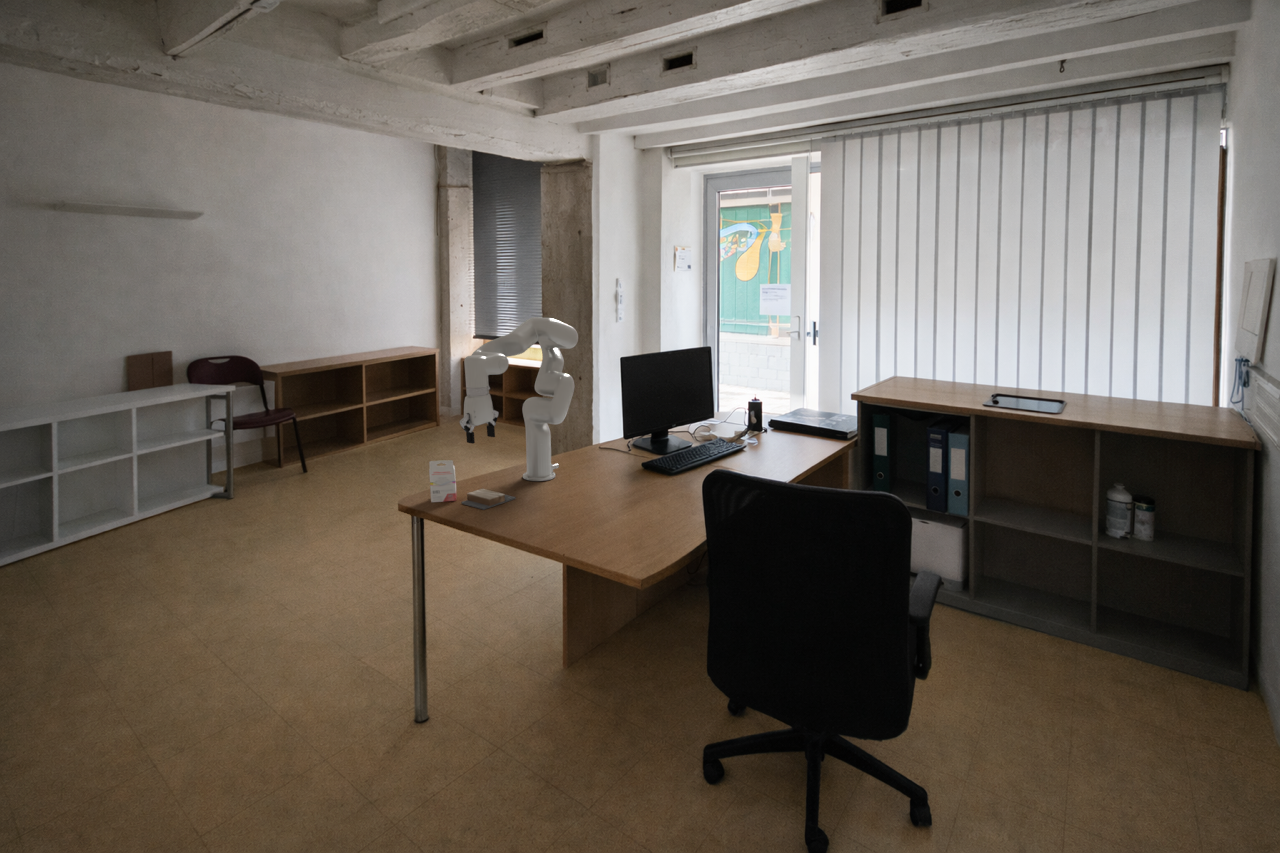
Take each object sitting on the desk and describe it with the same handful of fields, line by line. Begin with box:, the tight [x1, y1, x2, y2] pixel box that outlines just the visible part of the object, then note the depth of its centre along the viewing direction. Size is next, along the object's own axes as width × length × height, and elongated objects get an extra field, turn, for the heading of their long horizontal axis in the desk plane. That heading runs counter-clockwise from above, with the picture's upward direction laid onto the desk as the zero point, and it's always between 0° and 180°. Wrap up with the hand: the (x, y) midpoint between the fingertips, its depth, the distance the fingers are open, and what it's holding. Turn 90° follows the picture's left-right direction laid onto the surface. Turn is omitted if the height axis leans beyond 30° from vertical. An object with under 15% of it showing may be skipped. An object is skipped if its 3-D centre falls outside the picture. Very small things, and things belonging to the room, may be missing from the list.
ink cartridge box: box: [428, 459, 458, 503], centre depth 245 cm, size 9×5×15 cm, turn 101°
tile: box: [466, 488, 506, 506], centre depth 244 cm, size 2×11×7 cm
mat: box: [460, 494, 517, 510], centre depth 245 cm, size 15×11×1 cm
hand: (481, 439), depth 245 cm, fingers open, 9 cm apart
